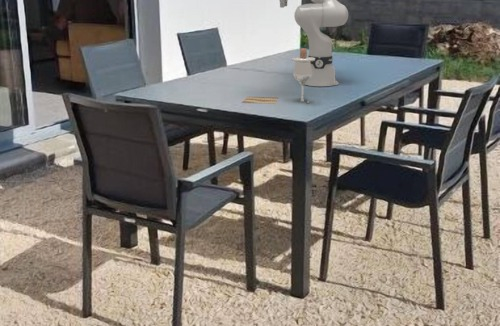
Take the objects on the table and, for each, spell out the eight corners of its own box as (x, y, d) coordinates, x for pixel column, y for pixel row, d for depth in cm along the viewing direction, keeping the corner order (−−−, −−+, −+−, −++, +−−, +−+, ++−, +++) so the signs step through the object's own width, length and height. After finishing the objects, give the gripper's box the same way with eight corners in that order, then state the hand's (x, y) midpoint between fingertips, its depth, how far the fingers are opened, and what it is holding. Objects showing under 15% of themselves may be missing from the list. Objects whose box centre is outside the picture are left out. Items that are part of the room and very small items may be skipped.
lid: (292, 58, 275) (292, 47, 274) (315, 58, 274) (316, 47, 273) (290, 61, 266) (290, 49, 265) (314, 61, 265) (314, 50, 263)
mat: (247, 97, 285) (247, 96, 285) (278, 98, 283) (278, 97, 282) (241, 104, 272) (241, 102, 272) (274, 105, 269) (274, 103, 269)
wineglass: (291, 100, 279) (292, 58, 274) (310, 100, 279) (311, 58, 274) (294, 104, 271) (294, 61, 266) (313, 103, 271) (314, 61, 266)
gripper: (279, -27, 283) (279, 5, 287) (273, -27, 264) (273, 8, 268) (294, -27, 282) (293, 5, 286) (288, -27, 263) (288, 8, 267)
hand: (283, 6), depth 277 cm, fingers open, 8 cm apart
